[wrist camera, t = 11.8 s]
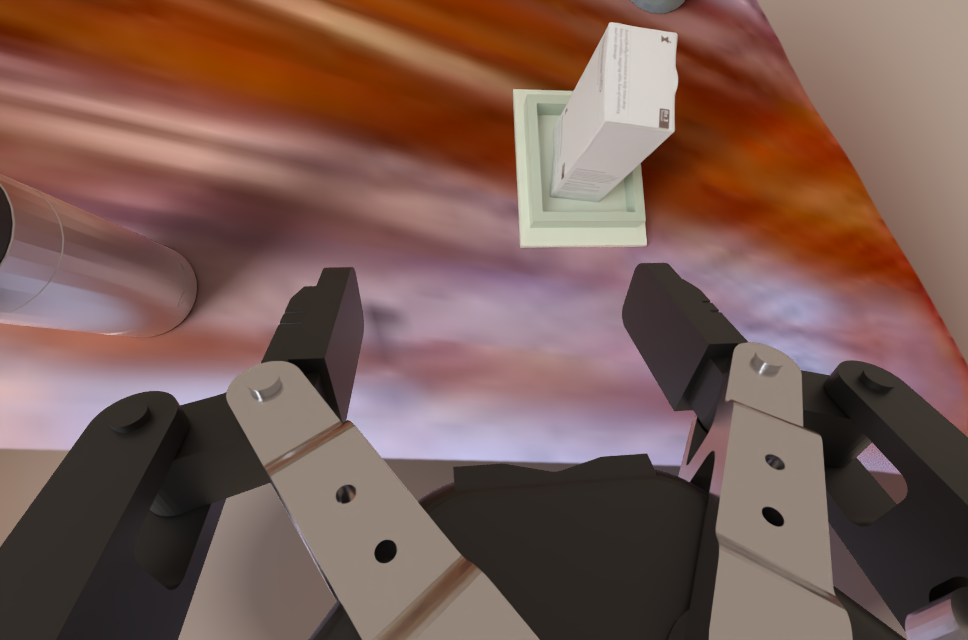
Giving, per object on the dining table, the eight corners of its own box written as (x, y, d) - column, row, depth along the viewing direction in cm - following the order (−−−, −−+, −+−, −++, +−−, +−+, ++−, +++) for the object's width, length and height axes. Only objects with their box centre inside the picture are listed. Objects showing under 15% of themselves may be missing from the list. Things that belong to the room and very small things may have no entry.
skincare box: (552, 130, 45) (604, 14, 30) (604, 136, 45) (681, 25, 31) (548, 202, 44) (601, 118, 29) (602, 207, 44) (680, 127, 30)
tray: (520, 247, 44) (525, 240, 41) (512, 92, 46) (516, 76, 43) (644, 246, 45) (656, 239, 42) (631, 96, 47) (642, 80, 44)
